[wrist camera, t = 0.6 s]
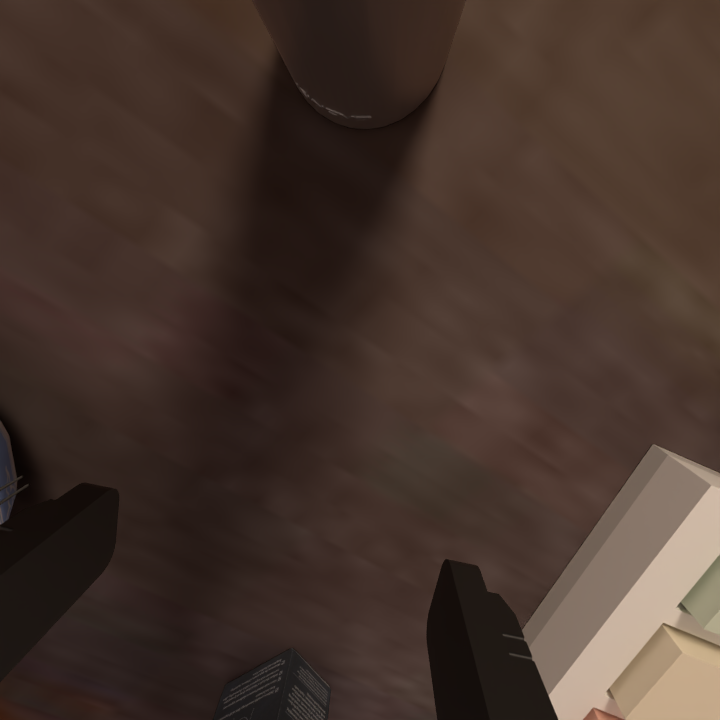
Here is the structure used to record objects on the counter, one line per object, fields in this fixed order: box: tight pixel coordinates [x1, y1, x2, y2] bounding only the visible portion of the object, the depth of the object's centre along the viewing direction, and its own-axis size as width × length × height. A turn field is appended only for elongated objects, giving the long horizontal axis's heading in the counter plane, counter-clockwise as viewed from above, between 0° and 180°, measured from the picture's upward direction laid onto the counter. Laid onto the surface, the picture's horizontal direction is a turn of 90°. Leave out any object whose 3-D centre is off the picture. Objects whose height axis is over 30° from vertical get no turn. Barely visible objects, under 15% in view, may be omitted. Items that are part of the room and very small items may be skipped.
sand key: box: [609, 623, 720, 720], centre depth 26 cm, size 6×6×3 cm
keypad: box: [522, 444, 720, 720], centre depth 28 cm, size 25×16×5 cm, turn 157°
